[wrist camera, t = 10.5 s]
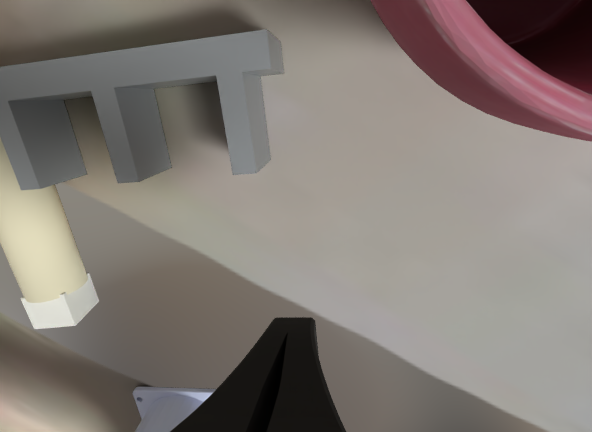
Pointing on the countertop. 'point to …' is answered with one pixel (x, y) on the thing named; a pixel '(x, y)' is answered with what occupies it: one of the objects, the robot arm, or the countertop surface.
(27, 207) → the cream cylinder column
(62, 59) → the grey comb rack
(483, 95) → the plant pot
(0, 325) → the countertop surface
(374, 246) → the countertop surface
